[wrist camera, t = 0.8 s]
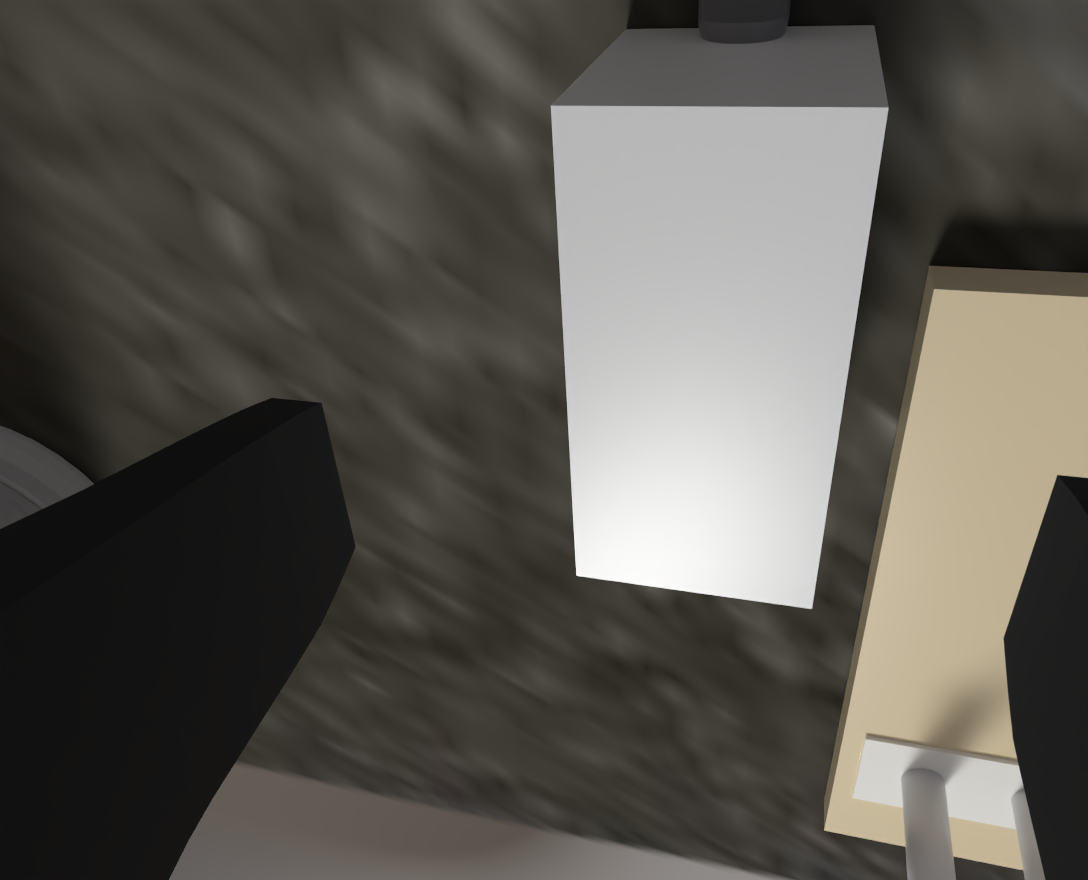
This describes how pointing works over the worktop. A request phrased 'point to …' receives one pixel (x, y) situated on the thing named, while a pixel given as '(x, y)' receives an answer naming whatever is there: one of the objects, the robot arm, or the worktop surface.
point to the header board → (960, 569)
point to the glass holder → (32, 477)
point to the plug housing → (713, 293)
